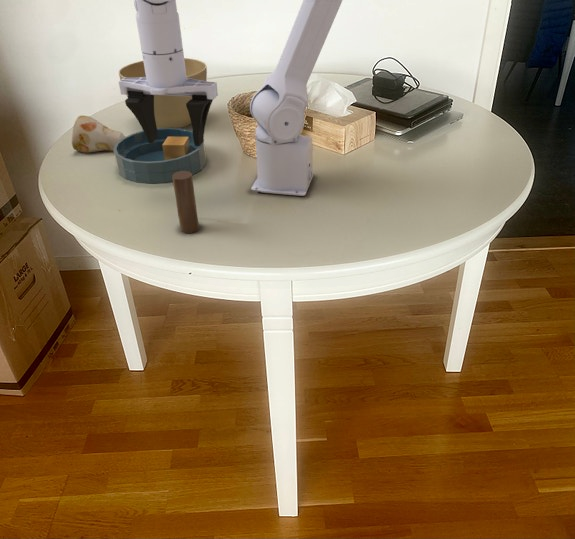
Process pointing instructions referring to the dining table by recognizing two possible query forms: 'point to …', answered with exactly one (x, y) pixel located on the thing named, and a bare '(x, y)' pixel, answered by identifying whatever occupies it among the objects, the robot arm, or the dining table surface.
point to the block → (176, 147)
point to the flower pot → (168, 107)
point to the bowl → (156, 157)
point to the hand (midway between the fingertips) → (175, 142)
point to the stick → (185, 201)
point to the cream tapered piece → (93, 136)
